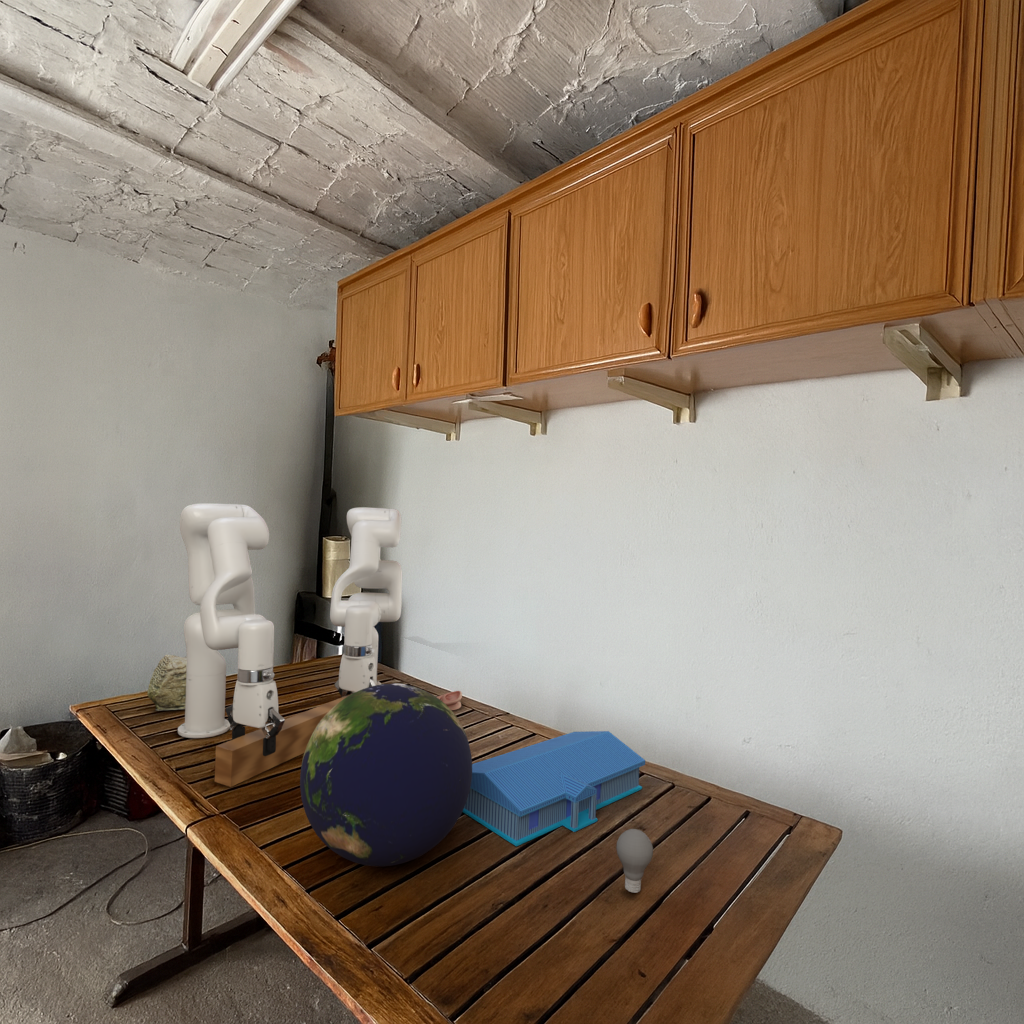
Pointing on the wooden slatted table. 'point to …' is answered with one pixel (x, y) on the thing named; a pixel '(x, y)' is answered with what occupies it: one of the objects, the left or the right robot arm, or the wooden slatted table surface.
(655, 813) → the wooden slatted table surface
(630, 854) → the light bulb
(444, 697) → the anatomical model
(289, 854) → the wooden slatted table surface
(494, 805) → the model building
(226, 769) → the post
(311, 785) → the globe
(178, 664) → the fossil
